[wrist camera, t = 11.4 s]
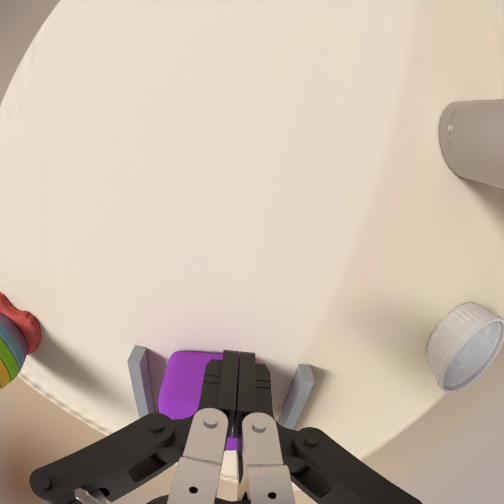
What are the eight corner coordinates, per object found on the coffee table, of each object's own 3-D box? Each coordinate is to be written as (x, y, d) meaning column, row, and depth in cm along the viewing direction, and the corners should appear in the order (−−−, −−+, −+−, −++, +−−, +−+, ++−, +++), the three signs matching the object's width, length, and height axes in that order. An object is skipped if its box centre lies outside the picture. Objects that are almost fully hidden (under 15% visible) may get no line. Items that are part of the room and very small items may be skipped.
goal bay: (310, 364, 33) (314, 381, 30) (282, 432, 38) (284, 446, 36) (134, 345, 31) (127, 361, 28) (147, 418, 37) (143, 432, 34)
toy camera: (186, 412, 36) (178, 467, 27) (156, 346, 31) (134, 409, 22) (258, 408, 36) (262, 466, 26) (244, 340, 31) (246, 408, 22)
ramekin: (476, 277, 30) (506, 300, 23) (484, 328, 34) (506, 350, 27) (410, 336, 32) (433, 368, 26) (428, 376, 36) (446, 404, 30)
